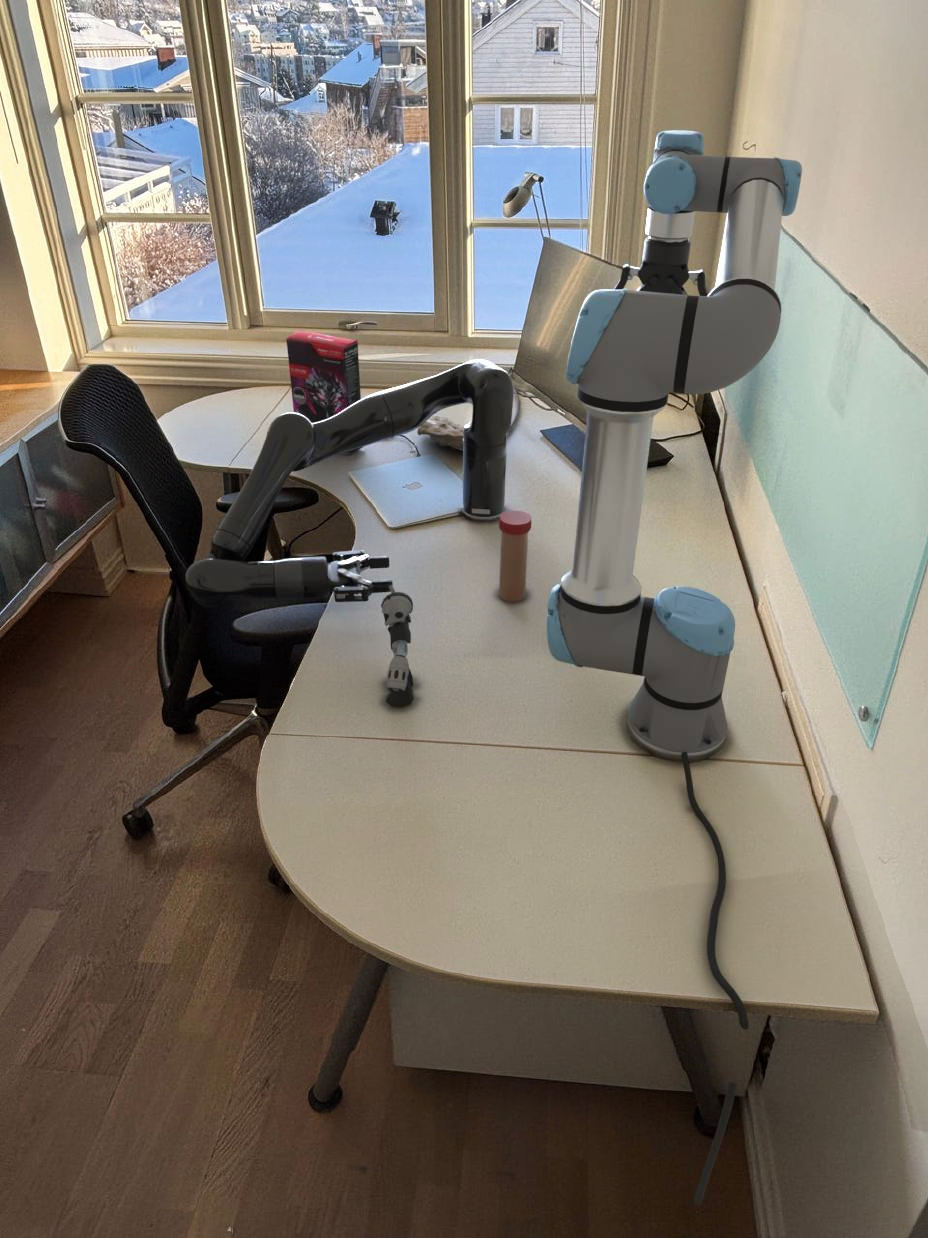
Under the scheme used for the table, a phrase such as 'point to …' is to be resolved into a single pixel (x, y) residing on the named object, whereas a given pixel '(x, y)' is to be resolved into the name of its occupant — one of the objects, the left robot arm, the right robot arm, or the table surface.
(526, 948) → the table surface
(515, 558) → the jar
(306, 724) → the table surface
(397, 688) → the robot
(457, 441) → the stone
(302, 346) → the graphics card box
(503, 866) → the table surface
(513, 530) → the lid
